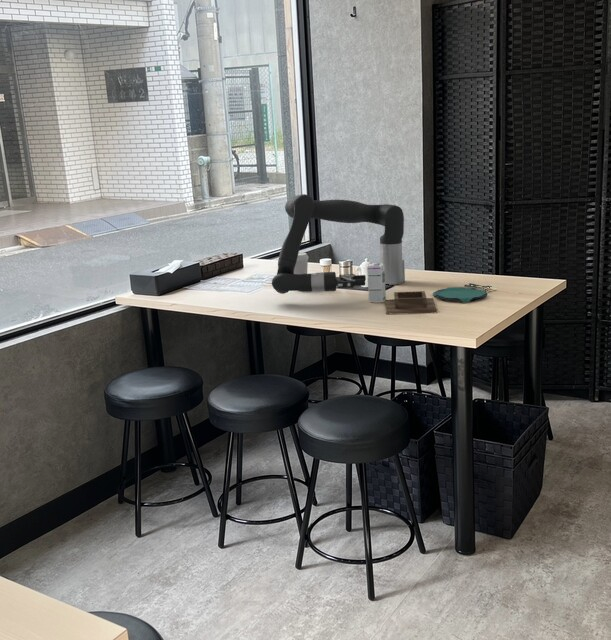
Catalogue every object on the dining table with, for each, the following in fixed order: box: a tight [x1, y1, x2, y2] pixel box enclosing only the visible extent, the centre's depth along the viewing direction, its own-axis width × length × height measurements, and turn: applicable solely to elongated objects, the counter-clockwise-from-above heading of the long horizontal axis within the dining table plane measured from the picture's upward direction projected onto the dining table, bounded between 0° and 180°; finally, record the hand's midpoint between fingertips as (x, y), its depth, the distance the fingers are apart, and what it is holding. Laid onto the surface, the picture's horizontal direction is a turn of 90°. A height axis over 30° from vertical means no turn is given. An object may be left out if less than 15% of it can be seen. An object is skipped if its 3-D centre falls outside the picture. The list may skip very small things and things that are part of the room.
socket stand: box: [385, 290, 438, 315], centre depth 286 cm, size 18×18×5 cm
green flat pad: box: [432, 282, 493, 304], centre depth 302 cm, size 20×30×2 cm, turn 136°
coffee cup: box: [294, 252, 310, 274], centre depth 328 cm, size 10×10×15 cm
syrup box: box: [366, 262, 387, 303], centre depth 298 cm, size 6×6×14 cm
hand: (365, 280), depth 298 cm, fingers open, 8 cm apart
